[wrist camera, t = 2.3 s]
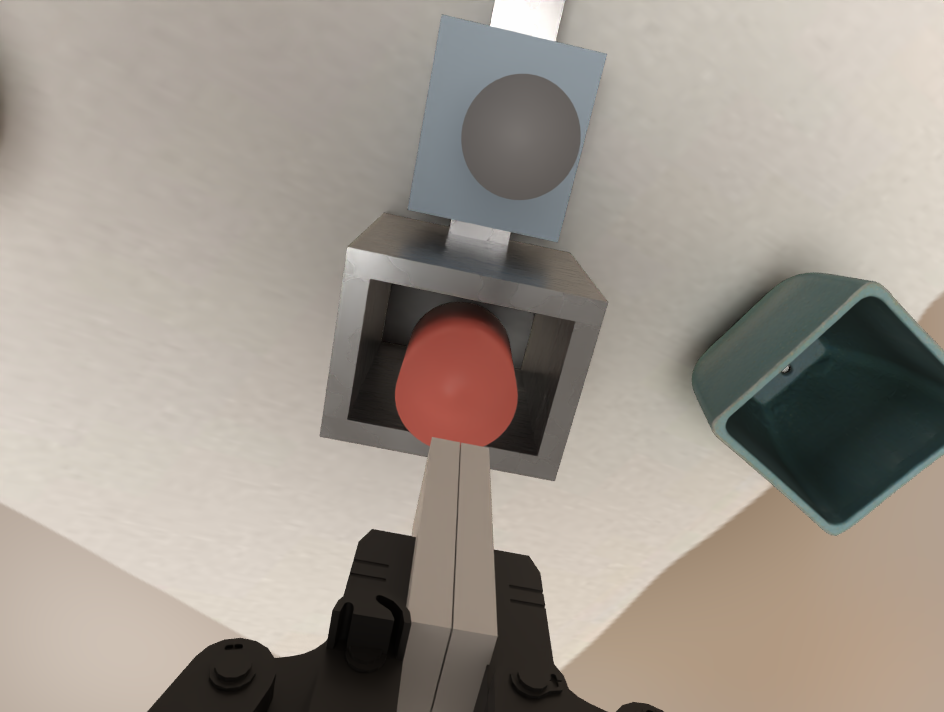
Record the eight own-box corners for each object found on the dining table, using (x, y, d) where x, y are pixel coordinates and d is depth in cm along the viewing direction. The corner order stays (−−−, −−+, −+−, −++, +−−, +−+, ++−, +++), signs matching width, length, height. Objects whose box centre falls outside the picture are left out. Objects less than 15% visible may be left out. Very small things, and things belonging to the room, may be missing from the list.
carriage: (445, 29, 29) (419, -64, 15) (590, 63, 30) (694, 4, 16) (415, 200, 32) (368, 256, 18) (548, 229, 32) (605, 306, 18)
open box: (384, 212, 32) (347, 246, 23) (573, 253, 33) (613, 303, 24) (361, 354, 35) (319, 436, 26) (536, 389, 36) (559, 482, 26)
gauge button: (418, 292, 26) (406, 328, 21) (520, 313, 26) (531, 353, 22) (400, 386, 28) (385, 439, 23) (497, 405, 28) (502, 461, 23)
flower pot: (651, 357, 35) (707, 429, 27) (773, 238, 33) (876, 276, 24) (754, 447, 37) (836, 542, 29) (875, 341, 35) (1004, 410, 26)
